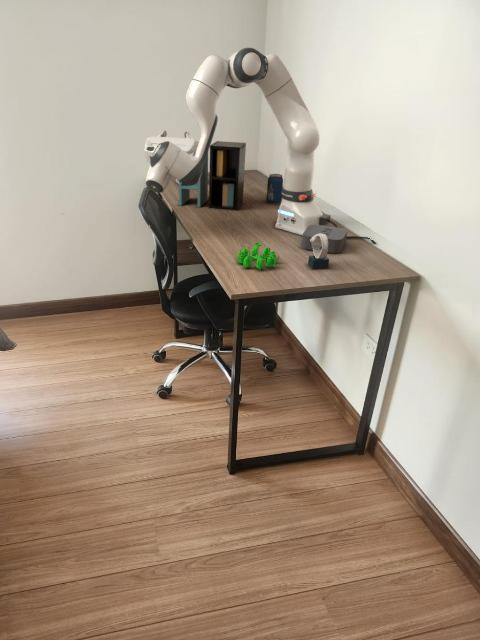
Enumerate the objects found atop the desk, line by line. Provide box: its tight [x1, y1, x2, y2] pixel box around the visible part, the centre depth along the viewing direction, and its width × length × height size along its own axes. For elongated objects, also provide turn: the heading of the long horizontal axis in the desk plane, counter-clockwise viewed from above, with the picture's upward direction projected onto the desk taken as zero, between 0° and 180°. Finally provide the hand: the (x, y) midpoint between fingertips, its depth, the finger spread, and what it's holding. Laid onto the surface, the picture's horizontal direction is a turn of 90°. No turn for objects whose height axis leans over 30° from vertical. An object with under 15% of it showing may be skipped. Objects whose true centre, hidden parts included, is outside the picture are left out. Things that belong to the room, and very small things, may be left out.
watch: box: [307, 233, 330, 270], centre depth 180 cm, size 6×8×11 cm
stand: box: [178, 152, 209, 208], centre depth 242 cm, size 12×10×22 cm
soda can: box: [265, 173, 284, 205], centre depth 245 cm, size 7×7×12 cm
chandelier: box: [234, 242, 280, 271], centre depth 183 cm, size 15×15×7 cm
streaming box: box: [301, 225, 348, 254], centre depth 198 cm, size 14×14×5 cm
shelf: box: [208, 140, 247, 211], centre depth 236 cm, size 11×13×26 cm
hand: (176, 132), depth 211 cm, fingers open, 8 cm apart
